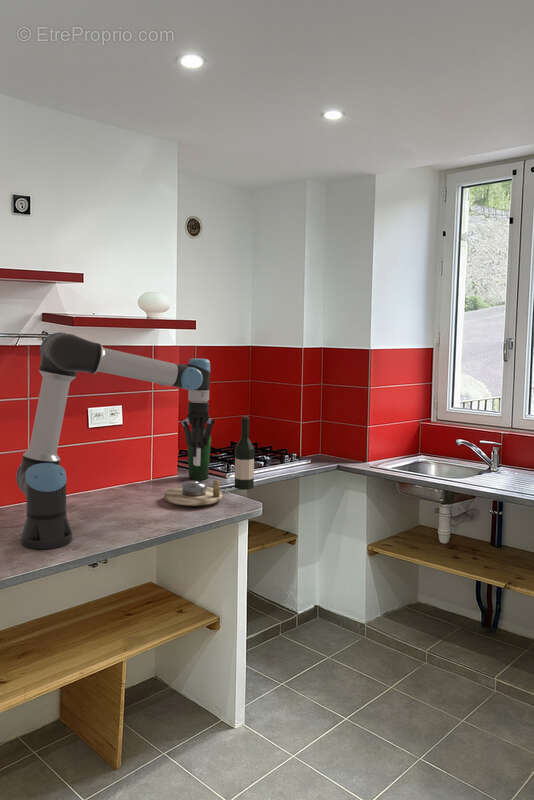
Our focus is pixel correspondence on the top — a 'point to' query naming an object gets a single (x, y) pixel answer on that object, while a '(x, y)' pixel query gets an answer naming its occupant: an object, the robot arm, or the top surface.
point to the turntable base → (193, 505)
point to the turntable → (209, 498)
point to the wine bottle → (244, 459)
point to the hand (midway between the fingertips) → (196, 465)
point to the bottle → (203, 469)
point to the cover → (194, 488)
